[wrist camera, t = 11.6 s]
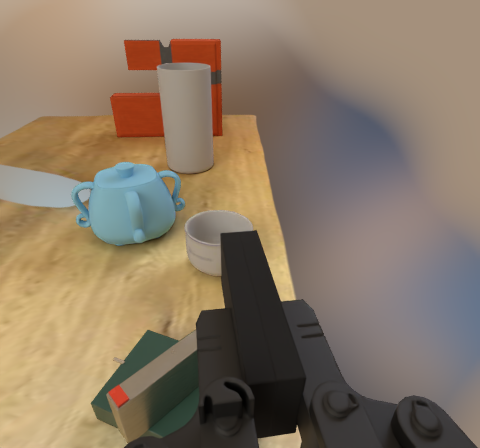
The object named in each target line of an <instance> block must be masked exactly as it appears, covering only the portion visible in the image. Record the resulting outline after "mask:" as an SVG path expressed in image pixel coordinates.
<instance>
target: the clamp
mask: <svg viewBox="0 0 480 448" xmlns="http://www.w3.org/2000/svg"><path fill="white" fill-rule="evenodd" d="M124 44H125V50H126V57H127V63H128V70H157V66H158V65H162V64H165V63H201V64H207V65H210V68H211V99H212V130H213V136H220V135H222V99H221V98H222V96H221V95H222V94H221V93H222V92H221V41H220V39H172V40H171V41H170V44H169V47H163V45H162V43H161V42H160V40H124ZM110 100H111V105H112V110H113V115H114V121H115V126H116V131H117V136H118V137H153V136H164V127H163V118H162V109H161V100H160V93H115V94H113V95H112V96H111V97H110Z"/></svg>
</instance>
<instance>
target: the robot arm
mask: <svg viewBox="0 0 480 448" xmlns="http://www.w3.org/2000/svg"><path fill="white" fill-rule="evenodd" d="M220 241H221V281H222V290H223V296H224V303H225V308H223V309H214V310H204V311H201V313H200V315H199V318H198V320H197V322H196V337H197V358H198V379H199V404H198V407H197V410H196V412H195V413H194V415H193V417H192V418H191V419H190V420H189V421H188V422H187V423H186V424H185V425H184V426H182V427H181V428H179V429H178V430H176V431H174V432H172V433H170V434H168V435H166V436H165V437H163V438H161V439H159V438H157V437H154V436H144V437H139V438H137V439H135V440H133V441H131V442H129V443H128V444H127V445H126V446H125V447H124V448H259V445H258V439H257V438H264V437H270V436H277V435H283V434H289V433H295V432H296V427H297V425H298V429H299V432H300V436H301V439H302V443H301V447H300V448H477V447H476V445H475V444H474V443H473V442H472V441H471V440H470V439H469V438H468V437H467V435H466V434H465V433H464V432H463V431H462V430H461V429H460V428H459V427H458V425H457V424H456V423H455V422H454V421H453V420H452V419H451V418H450V417H449V415H448V414H447V413H446V412H445V411H444V410H442V409H441V408H440V407H439V406H438V405H437V404H435V403H434V402H432V401H430V400H428V399H426V398H424V397H419V396H409V397H405V398H404V399H402V400H401V401H400V402H399V403H398V404H393V403H388V402H382V401H377V400H373V399H369V398H366V397H364V396H362V395H360V394H358V393H357V392H356V391H354V390H353V389H352V388H351V387H350V386H349V385H348V384H347V383H346V382H345V380H344V378H343V377H342V374H341V372H340V370H339V368H338V365H337V363H336V361H335V358H334V356H333V354H332V352H331V350H330V347H329V345H328V343H327V340H326V338H325V336H324V333H323V331H322V329H321V326H320V325H319V322H318V319H317V317H316V315H315V313H314V310H313V309H312V308H311V307H310V306H309V305H308V304H307V303H306V302H305V301H304V300H303V299H302V300H293V301H283V302H281V301H280V298H279V295H278V292H277V289H276V286H275V283H274V280H273V277H272V274H271V271H270V268H269V265H268V262H267V259H266V256H265V253H264V250H263V248H262V245H261V242H260V239H259V236H258V233H257V230H255V231H242V232H228V233H220Z"/></svg>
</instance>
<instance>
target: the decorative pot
mask: <svg viewBox="0 0 480 448" xmlns="http://www.w3.org/2000/svg"><path fill="white" fill-rule="evenodd" d="M163 177H172V178H174V179H175V188H174V191H173V195H172V197H171V194H170V192H169V190H168V188H167V187H166V185H165V183H164V182H163V180H162V179H161V178H163ZM180 187H181V181H180V178H179V176H178V175H177V174H176V173H174V172H172V171H169V170H164V171H161V172H158V173H157V172H156V170H155V169H154V168H153V167H152V166H150V165H146V164H133V163H131V162H121V163H119V164H117V165H115V167H111V168H107V169H104V170H101V171H99V172H98V173H97V174H96V176H95V179H94V182H82V183H80V184H78V185H77V186H75V188H74V189H73V191H72V200H73V202H74V204H75V205H76V207H77V208H78V209H79V211H80V212H81V214H79V215H78V216H77V217H76V222H77V224H78V225H79V226H80V227H85V228H86V227H90V226H91V228H92V230H93V232H94V233H95V235H96V236H97V237H99V238H100V239H101V240H103V241H104V242H106V243H109V244H115V245H117V246H121V245H124V244H132V243H143V242H144V241H147V240H150V239H153V238H159V237H161V236H162V235H163V234H165V233H166V232H167V231H169V229H170V228H171V226H172V225H173V223H174V221H175V217H176V215H175V211H180V210H182V209H183V208H184V207H185V202H184V200H183V199H182V198H178V195H179V191H180ZM83 189H91V193H90V198H89V211H88V210H87V209H86V207H85V206H84V205H83V204H82V202H81V201H80V199H79V197H78V192H79V191H81V190H83ZM176 202H181V204H179V205H176ZM84 217H85V218H86V219H87V221H83V220H81V218H84Z"/></svg>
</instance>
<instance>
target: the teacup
mask: <svg viewBox="0 0 480 448" xmlns="http://www.w3.org/2000/svg"><path fill="white" fill-rule="evenodd" d="M242 231H253V225H252V223H251V221H250V220H249V219H248V218H246V217H245V216H243V215H241V214H238V213H235V212H231V211H225V210H213V211H205V212H201V213H198V214H196V215H194V216H192V217H190V218H189V219H188V220H187V222H186V224H185V232H186V247H187V254H188V258H189V260H190V262H191V264H192V265H193V266H194V267H195V268H196V269H198V270H199V271H201V272H204V273H206V274H208V275H212V276H221V241H220V233H228V232H242Z"/></svg>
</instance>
